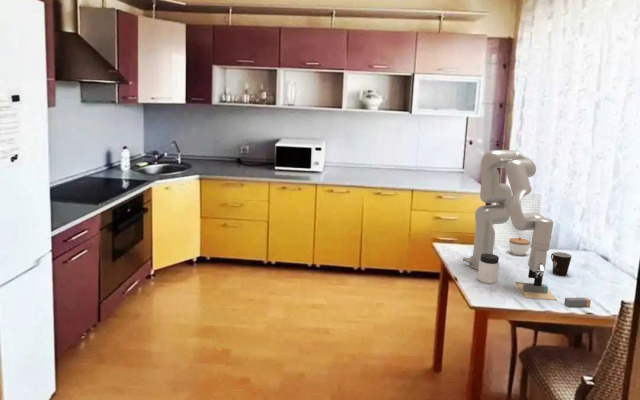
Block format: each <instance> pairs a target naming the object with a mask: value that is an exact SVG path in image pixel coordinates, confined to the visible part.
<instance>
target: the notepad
mask: <svg viewBox="0 0 640 400" xmlns="http://www.w3.org/2000/svg"><path fill="white" fill-rule="evenodd" d="M523 283H524V282H522V281H521V282H519V281H515V284H516V286H517V287H518V289H519V290H520V291H521V293H522V294H523V295H524V297H525V299H536V300H539V299H540V300H548V301H549V300H550V301H557V297H555V296H554V295H553V293H552V292H551V291H550V289H548V292H547V293H535V292H524V291H523ZM529 283H530V282H529ZM530 284H534V282H531V283H530ZM542 284H543V285H546V284H545V283H542Z"/></svg>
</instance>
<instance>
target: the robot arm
mask: <svg viewBox="0 0 640 400" xmlns="http://www.w3.org/2000/svg"><path fill="white" fill-rule="evenodd" d="M480 167H481V169H480V170H481V178H480V179H481V180H480V190H479V191H480V192H479V198H480V201H482V202H483V203H485V204H488V205H481V206H479V207H478V208H477V209H476V210H475V213H474V219H475V230H474V240H473V241H474V242H473V251H472V255H471V257H462V261H463V262H466V263H468V266H469V267H470V268H471V269H475V270H478V268H479V260H480V258H481V254H494V246H495V239H496V232H495V229H494V227H493V226H494V225H501V224H502V225H503V224H506V223H507V222H508V221H509V220H510V221H511V224H512V226H513V228H514V229H516V230H517V231H533V232H532V236H531V237H532V238H531V243H530V252H529V258H528V263H527V266H528V267H529V269H528V275H527V276H528V277H527V278H528V279H533V283H534V286H541V285H542V284H543V278H544V274H545V270H546V263H547V256H548V255H547V253H548V252H549V251H550V245H551V241H552V234H553V228H554V221H553V219H551V218H549V217H545V216H543V215H542V214H540V213H538V212H537V213H536V212H531V213H529V212H527V213H523V210H522V205H521V204H522V200H523V199H524V197H526V196H528V195H529V194H530V193H531V192H532V187H531V186H532V185H531V183H530V180H529V178H532V177H534V176H535V174H536V172H537V166H536V163H534V161H533V160H532V159H531V158H529V157H528V156H526V155H524V154H523V153H521V152H520V151H518V150H514V149H513V150H512V149H511V150H510V149H494V150H493V149H492V150H489V151H487V152H485V153H484V154H483V155H482V158H481V161H480ZM499 168H500V169H501V168H502V169H505V172H506V176H507V179H508V183H509V185H508V184H507V183H504V182H503V183H501V182H500V172H499V170H498V169H499ZM489 204H490V205H489Z"/></svg>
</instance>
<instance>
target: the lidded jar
mask: <svg viewBox="0 0 640 400" xmlns="http://www.w3.org/2000/svg"><path fill="white" fill-rule="evenodd" d="M508 244H509V245H508V246H509V250H510V252H511V253H513V255H514V254H515V256H521V257H522V256H525V254H527V253H528V251H529V249H530V245H531V241H530V240H529V239H525V238H523V237H511V238H509V243H508Z"/></svg>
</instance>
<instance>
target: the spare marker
mask: <svg viewBox="0 0 640 400" xmlns="http://www.w3.org/2000/svg"><path fill="white" fill-rule="evenodd" d="M591 300H592V299H591V298H590V299H589V298H588V297H565V298H564V301H563V302H564V303H563V304H564V306H565V307H568V308H589V307H591Z"/></svg>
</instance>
